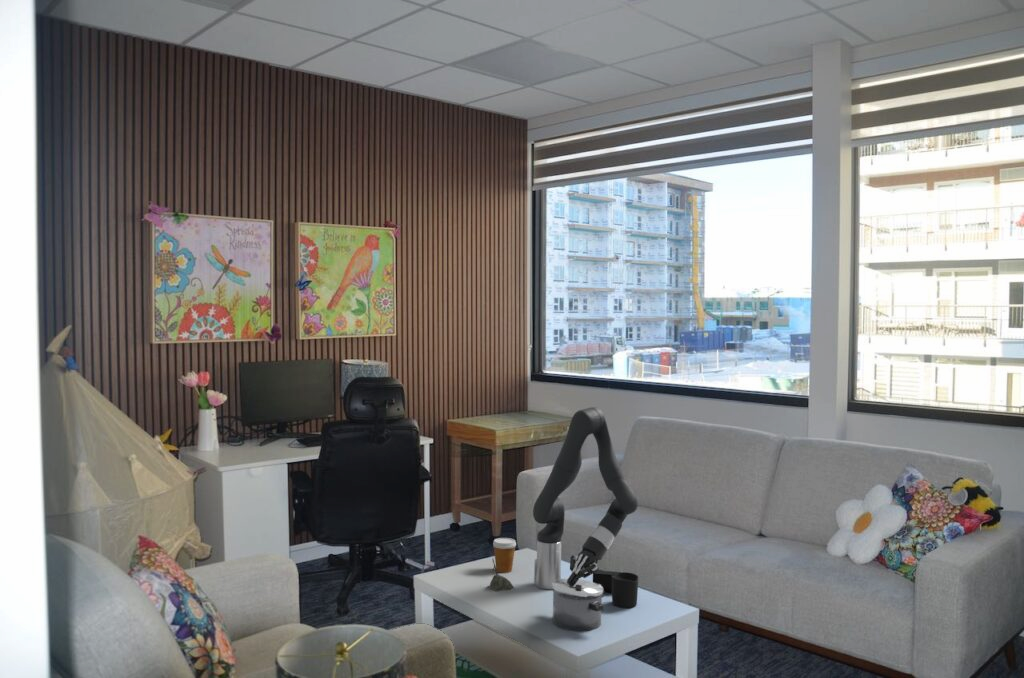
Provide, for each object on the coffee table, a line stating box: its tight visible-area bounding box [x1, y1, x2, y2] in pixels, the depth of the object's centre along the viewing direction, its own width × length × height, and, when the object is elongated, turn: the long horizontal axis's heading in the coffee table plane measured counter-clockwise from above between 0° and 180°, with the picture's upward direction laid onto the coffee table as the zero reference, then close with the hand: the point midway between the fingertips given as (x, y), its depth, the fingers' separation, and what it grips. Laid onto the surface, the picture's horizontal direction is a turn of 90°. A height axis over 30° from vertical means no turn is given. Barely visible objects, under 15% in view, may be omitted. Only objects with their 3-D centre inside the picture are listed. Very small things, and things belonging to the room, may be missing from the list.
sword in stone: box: [486, 558, 515, 592], centre depth 295 cm, size 10×8×12 cm
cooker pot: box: [552, 589, 605, 632], centre depth 261 cm, size 17×23×10 cm
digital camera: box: [592, 569, 621, 594], centre depth 294 cm, size 10×5×7 cm, turn 80°
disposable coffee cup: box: [492, 537, 517, 574], centre depth 317 cm, size 10×10×12 cm
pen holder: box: [611, 571, 639, 609], centre depth 279 cm, size 9×9×10 cm
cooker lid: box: [552, 578, 603, 597], centre depth 261 cm, size 18×17×3 cm
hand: (569, 584), depth 259 cm, fingers closed
